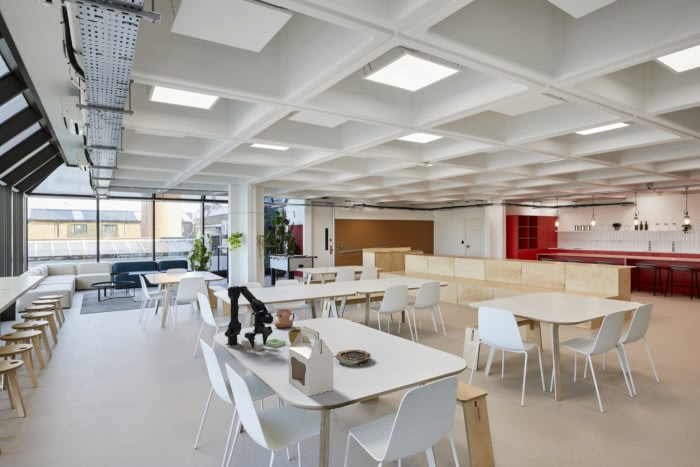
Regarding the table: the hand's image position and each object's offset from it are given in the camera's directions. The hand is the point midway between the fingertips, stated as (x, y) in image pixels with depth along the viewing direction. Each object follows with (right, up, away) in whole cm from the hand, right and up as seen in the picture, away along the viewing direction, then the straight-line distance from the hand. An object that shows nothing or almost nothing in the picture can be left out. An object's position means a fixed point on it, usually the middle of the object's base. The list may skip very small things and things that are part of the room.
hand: (258, 346), depth 252 cm
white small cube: (-5, -2, +4) cm, 7 cm away
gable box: (+39, -2, -61) cm, 73 cm away
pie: (+60, -3, -22) cm, 65 cm away
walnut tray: (-5, -3, +4) cm, 7 cm away
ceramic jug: (+6, -4, +65) cm, 65 cm away
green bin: (+8, -3, +12) cm, 14 cm away
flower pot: (+22, -3, +15) cm, 27 cm away
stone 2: (0, -2, 0) cm, 2 cm away
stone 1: (-10, -2, +8) cm, 13 cm away
